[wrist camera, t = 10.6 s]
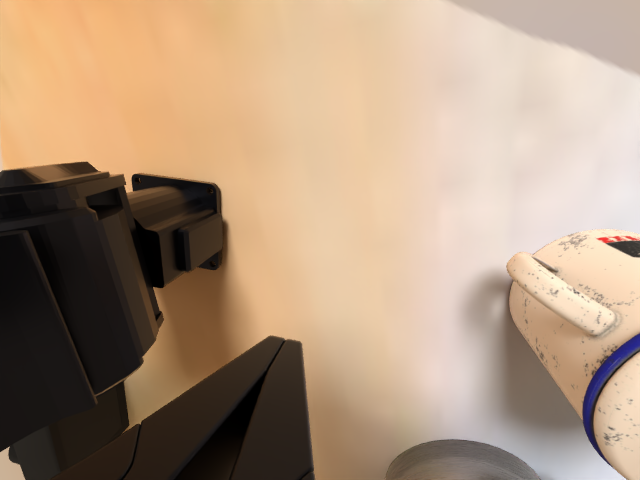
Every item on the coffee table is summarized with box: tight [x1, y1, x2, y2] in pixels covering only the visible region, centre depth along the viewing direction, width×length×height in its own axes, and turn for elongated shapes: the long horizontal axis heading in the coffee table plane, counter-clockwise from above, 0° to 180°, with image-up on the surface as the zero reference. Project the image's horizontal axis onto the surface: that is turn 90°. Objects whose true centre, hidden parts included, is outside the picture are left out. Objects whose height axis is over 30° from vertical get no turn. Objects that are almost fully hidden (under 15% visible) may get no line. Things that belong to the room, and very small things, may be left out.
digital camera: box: [9, 382, 129, 480], centre depth 27 cm, size 10×5×7 cm, turn 172°
